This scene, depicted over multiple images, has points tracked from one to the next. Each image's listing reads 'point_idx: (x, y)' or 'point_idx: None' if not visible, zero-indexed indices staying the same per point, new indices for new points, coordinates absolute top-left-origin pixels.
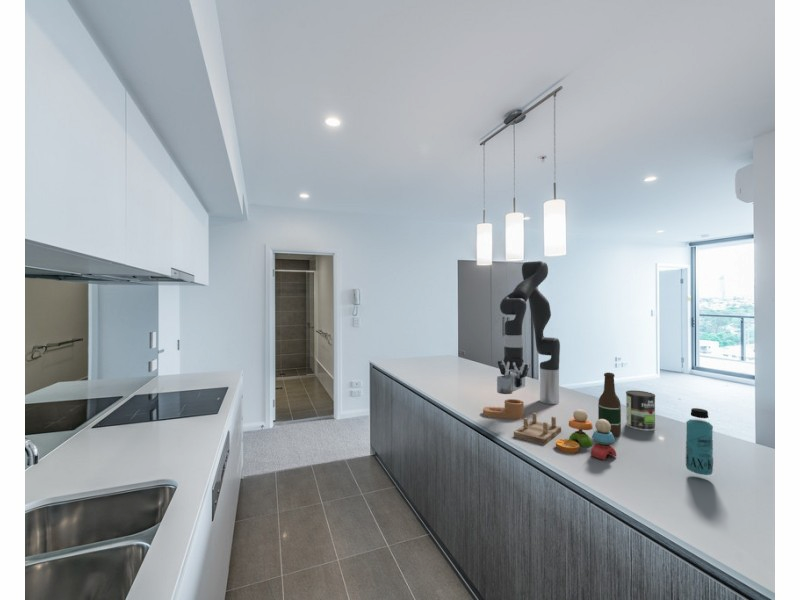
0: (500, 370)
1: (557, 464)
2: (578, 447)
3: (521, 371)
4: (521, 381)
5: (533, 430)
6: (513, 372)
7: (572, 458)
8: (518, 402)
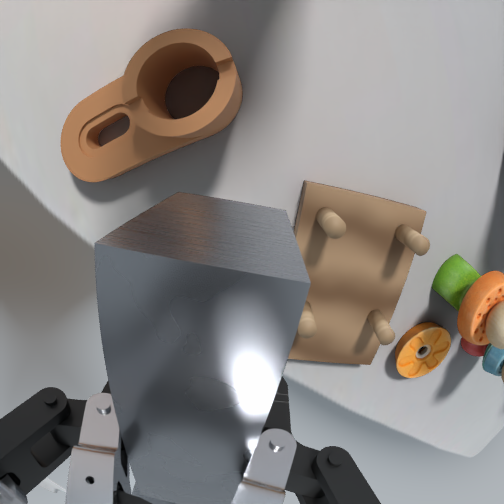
0: (41, 450)
1: (383, 420)
2: (444, 356)
3: (284, 492)
4: (286, 416)
5: (333, 312)
6: (113, 371)
7: (417, 384)
8: (197, 48)
